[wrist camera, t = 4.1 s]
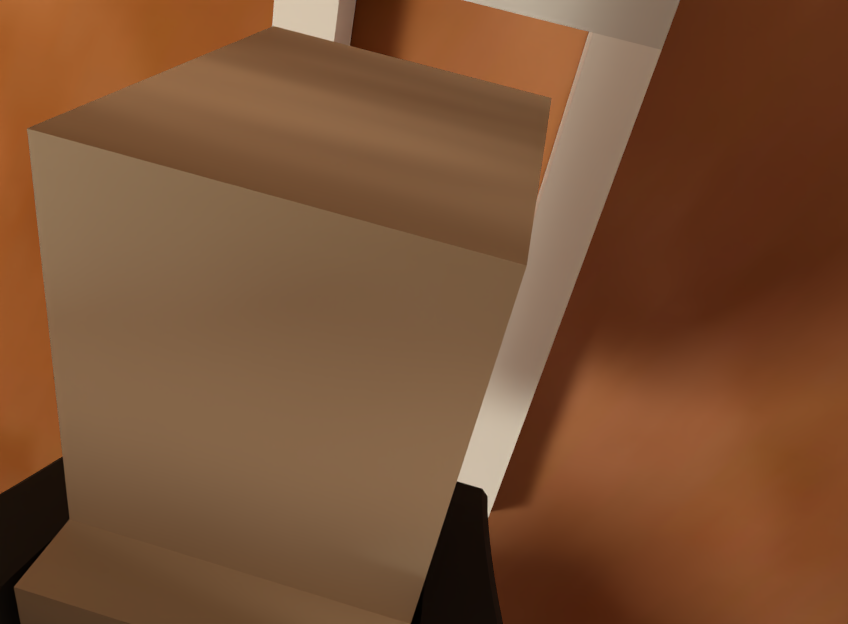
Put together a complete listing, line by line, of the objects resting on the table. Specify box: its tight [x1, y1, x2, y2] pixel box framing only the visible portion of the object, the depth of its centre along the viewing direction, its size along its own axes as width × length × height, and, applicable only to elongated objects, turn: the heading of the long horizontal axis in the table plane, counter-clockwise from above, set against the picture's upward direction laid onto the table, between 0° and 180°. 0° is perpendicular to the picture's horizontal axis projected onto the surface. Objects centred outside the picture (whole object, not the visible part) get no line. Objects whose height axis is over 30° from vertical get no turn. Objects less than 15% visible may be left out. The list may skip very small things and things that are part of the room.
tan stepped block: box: [14, 26, 551, 624], centre depth 9 cm, size 11×4×5 cm, turn 168°
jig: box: [272, 0, 680, 517], centre depth 16 cm, size 14×7×1 cm, turn 168°
